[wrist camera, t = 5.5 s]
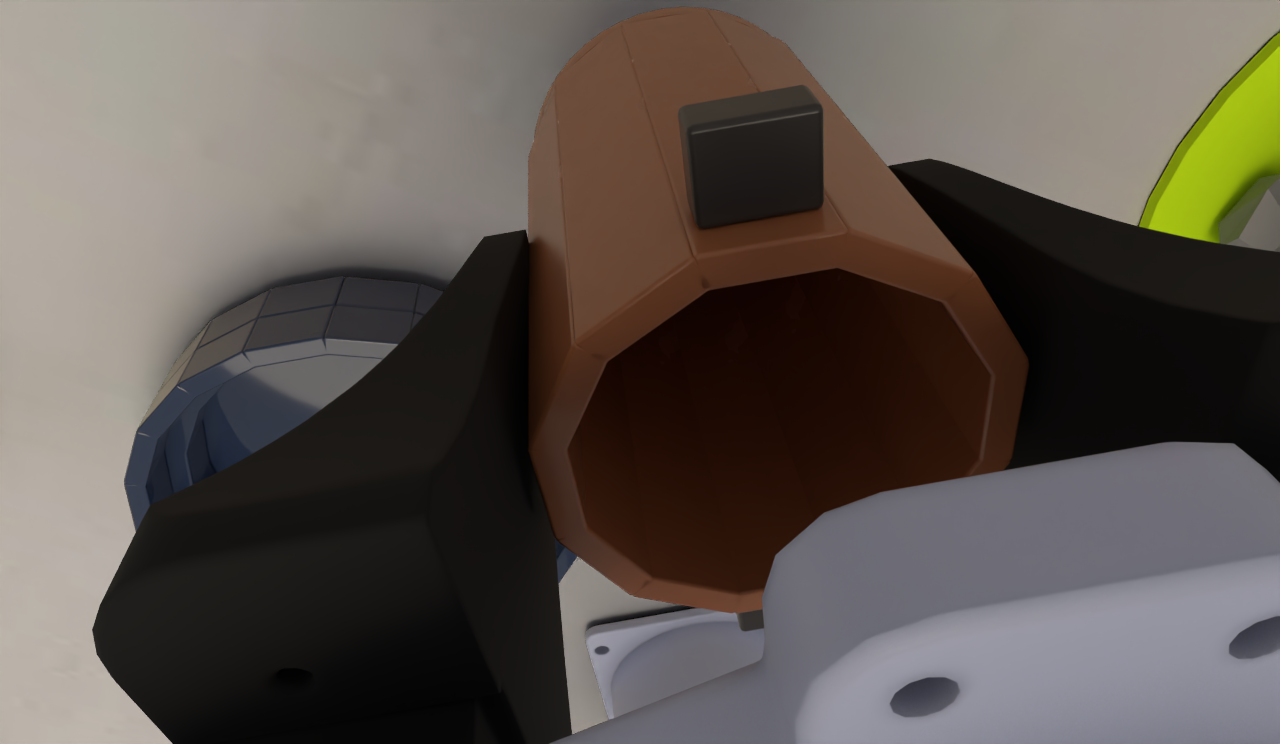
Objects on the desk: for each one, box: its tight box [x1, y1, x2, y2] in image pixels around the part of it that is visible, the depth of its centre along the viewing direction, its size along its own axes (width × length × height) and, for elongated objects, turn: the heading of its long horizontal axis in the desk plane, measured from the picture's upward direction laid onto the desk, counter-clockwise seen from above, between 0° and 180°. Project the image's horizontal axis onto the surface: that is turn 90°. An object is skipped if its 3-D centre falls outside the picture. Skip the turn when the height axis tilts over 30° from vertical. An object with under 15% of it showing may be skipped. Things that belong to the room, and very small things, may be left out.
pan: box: [124, 276, 577, 584], centre depth 23 cm, size 11×11×3 cm
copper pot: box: [528, 7, 1029, 632], centre depth 12 cm, size 7×5×8 cm
